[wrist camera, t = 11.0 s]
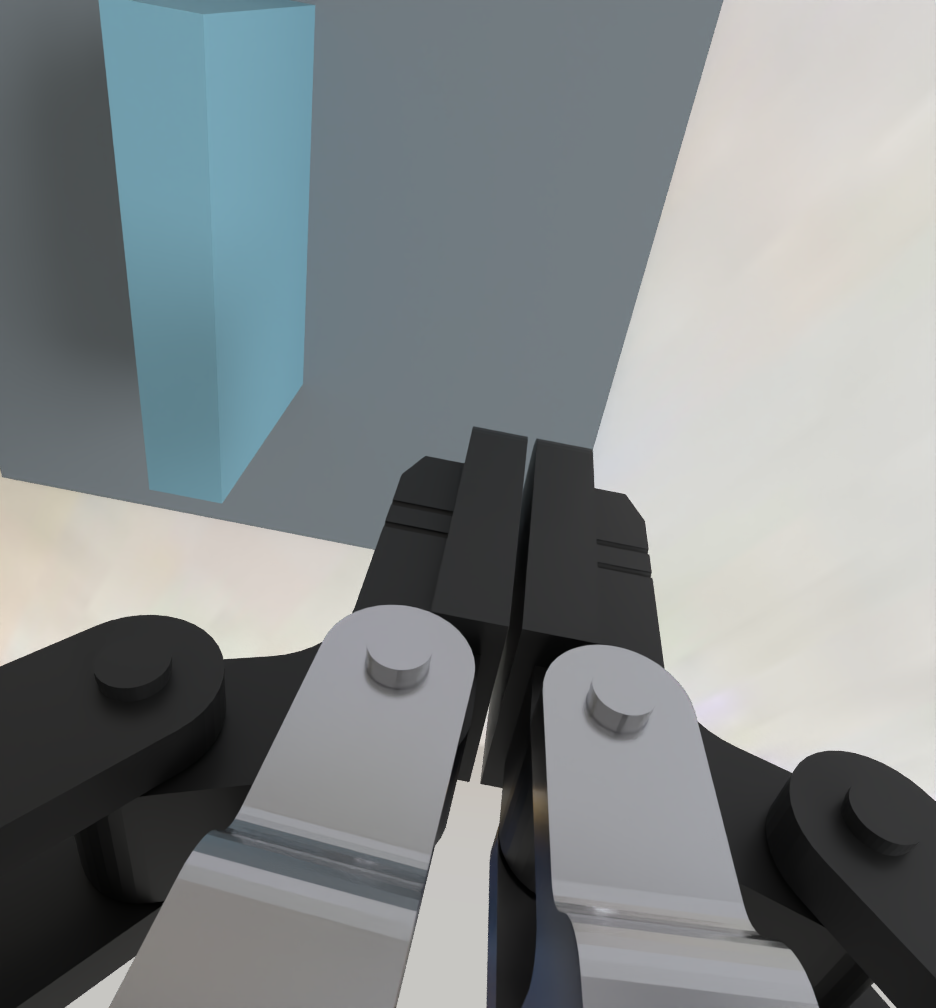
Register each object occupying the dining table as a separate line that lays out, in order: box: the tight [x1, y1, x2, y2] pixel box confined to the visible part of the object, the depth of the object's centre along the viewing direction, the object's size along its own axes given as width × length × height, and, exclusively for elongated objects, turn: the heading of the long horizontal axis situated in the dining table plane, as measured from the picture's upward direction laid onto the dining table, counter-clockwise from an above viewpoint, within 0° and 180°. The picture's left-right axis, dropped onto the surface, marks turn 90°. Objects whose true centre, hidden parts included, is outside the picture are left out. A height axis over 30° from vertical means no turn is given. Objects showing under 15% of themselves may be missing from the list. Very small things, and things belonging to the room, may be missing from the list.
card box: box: [99, 0, 315, 503], centre depth 16 cm, size 9×2×6 cm, turn 171°
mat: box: [0, 0, 723, 550], centre depth 19 cm, size 20×18×1 cm
